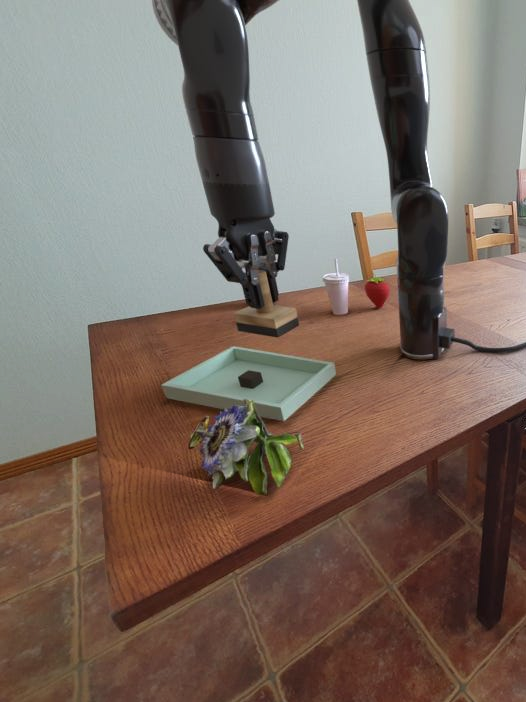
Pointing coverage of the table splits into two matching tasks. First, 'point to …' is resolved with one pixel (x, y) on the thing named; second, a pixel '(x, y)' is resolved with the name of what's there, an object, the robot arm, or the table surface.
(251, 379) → the crumb
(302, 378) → the tray
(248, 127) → the robot arm
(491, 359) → the table surface
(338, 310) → the smoothie
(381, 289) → the strawberry
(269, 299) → the brush
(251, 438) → the passion flower
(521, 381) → the table surface
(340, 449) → the table surface
